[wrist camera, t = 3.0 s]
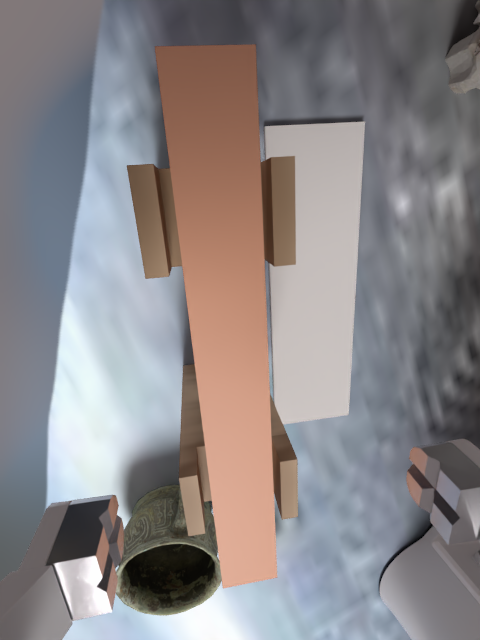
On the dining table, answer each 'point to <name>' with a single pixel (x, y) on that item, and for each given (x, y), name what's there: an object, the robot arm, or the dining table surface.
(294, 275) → the mat
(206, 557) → the vessel
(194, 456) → the post far
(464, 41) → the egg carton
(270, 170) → the post near
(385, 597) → the robot arm
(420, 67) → the dining table surface
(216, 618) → the dining table surface
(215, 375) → the rail
